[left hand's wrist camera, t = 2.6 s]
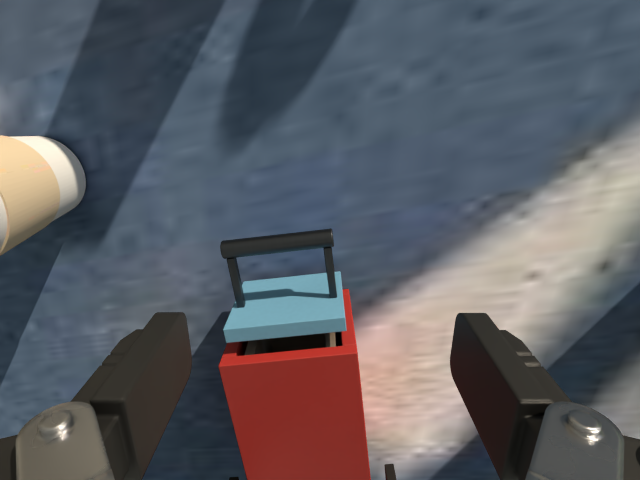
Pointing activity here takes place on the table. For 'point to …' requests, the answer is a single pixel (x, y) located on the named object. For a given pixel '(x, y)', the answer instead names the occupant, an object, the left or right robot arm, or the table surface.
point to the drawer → (285, 298)
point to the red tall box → (298, 410)
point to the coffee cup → (35, 186)
